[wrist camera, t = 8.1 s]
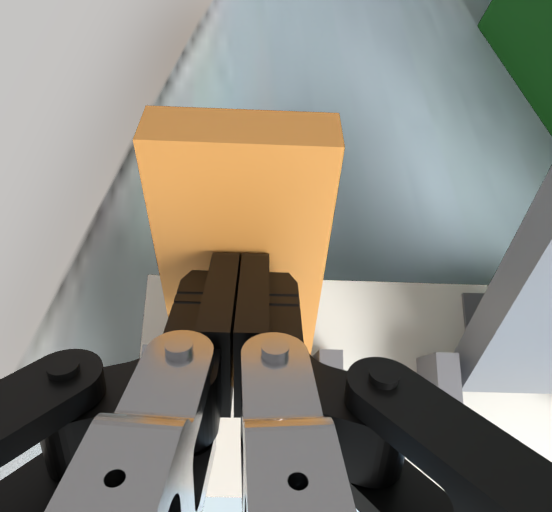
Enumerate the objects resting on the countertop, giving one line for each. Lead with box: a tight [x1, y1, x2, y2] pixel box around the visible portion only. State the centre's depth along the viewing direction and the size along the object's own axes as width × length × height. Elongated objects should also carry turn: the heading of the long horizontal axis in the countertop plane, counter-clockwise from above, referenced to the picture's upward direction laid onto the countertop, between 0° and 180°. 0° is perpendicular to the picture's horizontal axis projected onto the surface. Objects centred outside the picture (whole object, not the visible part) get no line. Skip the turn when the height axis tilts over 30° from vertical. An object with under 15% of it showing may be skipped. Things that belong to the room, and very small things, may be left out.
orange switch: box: [133, 106, 345, 355], centre depth 14 cm, size 5×1×10 cm, turn 89°
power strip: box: [139, 275, 552, 498], centre depth 19 cm, size 21×8×6 cm, turn 89°
